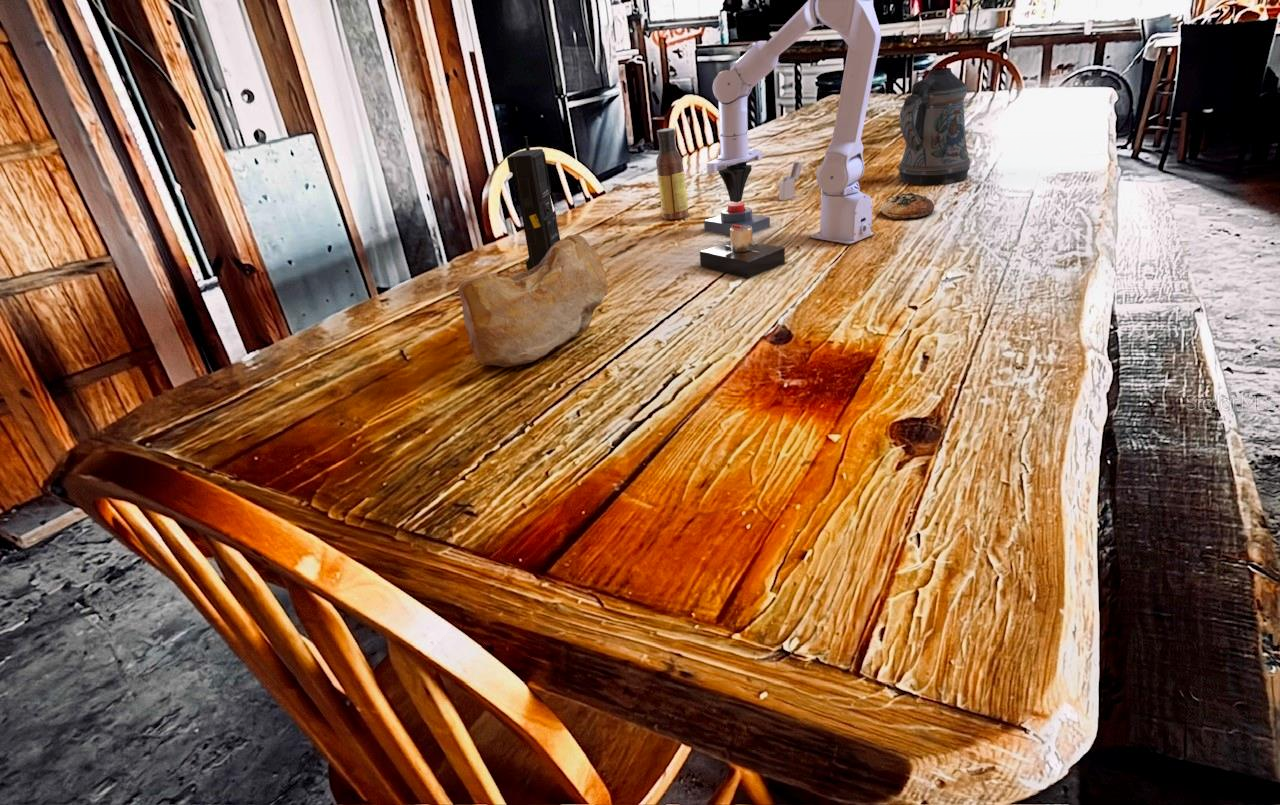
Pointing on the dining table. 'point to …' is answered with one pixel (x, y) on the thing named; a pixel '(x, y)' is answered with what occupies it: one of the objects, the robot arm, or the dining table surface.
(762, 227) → the button box
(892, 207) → the bread roll
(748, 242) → the dial
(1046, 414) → the dining table surface
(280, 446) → the dining table surface
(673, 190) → the sauce bottle
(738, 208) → the power button
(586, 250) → the rough brown rock
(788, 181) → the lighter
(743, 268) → the dial panel
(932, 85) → the beer stein
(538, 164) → the portable radio
